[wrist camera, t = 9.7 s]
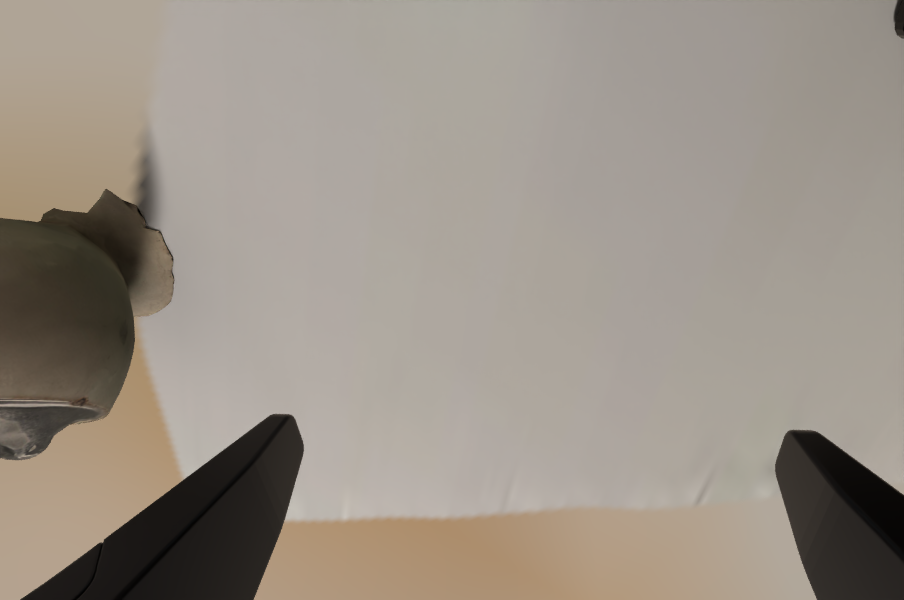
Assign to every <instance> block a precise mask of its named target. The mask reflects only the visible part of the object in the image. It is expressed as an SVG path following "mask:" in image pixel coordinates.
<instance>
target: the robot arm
mask: <svg viewBox="0 0 904 600" xmlns="http://www.w3.org/2000/svg"><path fill="white" fill-rule="evenodd" d="M895 31H896V33H897V35H898V36H899V37H901V38H903V39H904V0H902V3H901V6H900V9H899V13H898V16H897V19H896V23H895ZM303 452H304V445H303V440H302V438H301V435H300V432H299V429H298V426H297V423H296V420H295V418H294V417H293V416H292V415H290V414H272V415H270V416H269V417H267V418H266V419H264V420H263V421H262V422H260V423H259V424H258V425H256V426H255V427H254V428H252V429H251V430H250V431H248V432H247V433H246V434H244V435H243V436H242V437H240V438H239V439H238V440H236V441H235V442H234V443H232V444H231V445H230V446H228V447H227V448H226V449H224V450H223V451H222V452H220V453H219V454H218V455H216V456H215V457H214V458H212V459H211V460H210V461H208V462H207V463H206V464H204V465H203V466H202V467H200V468H199V469H198V470H196V471H195V472H194V473H192V474H191V475H190V476H188V477H187V478H186V479H184V480H183V481H182V482H180V483H179V484H178V485H176V486H175V487H174V488H172V489H171V490H170V491H168V492H167V493H166V494H164V495H163V496H162V497H160V498H159V499H158V500H156V501H155V502H154V503H152V504H151V505H150V506H148V507H147V508H146V509H144V510H143V511H142V512H140V513H139V514H137V515H136V516H135V517H133V518H132V519H131V520H130V521H128V522H127V523H126V524H124V525H123V526H122V527H120V528H119V529H118V530H116V531H115V532H113V533H112V534H111V535H109V536H108V537H107V538H106V539H104V542H103V543H99V544H97V545H96V546H95V547H93V548H92V549H91V550H89V551H88V552H87V553H85V554H84V555H83V556H81V557H80V558H78V559H77V560H76V561H74V562H73V563H72V564H70V565H69V566H67V567H66V568H65V569H63V570H62V571H61V572H59V573H58V574H56V575H55V576H54V577H52V578H51V579H50V580H48V581H47V582H45V583H44V584H42V585H41V586H40V587H38V588H37V589H35V590H34V591H32V592H31V593H29V594H28V595H26V596H25V597H23V598H22V599H21V600H254V597H255V595H256V592H257V590H258V587H259V584H260V582H261V579H262V577H263V575H264V572H265V569H266V567H267V565H268V562H269V560H270V557H271V554H272V552H273V550H274V547H275V544H276V542H277V540H278V537H279V534H280V532H281V529H282V526H283V523H284V520H285V517H286V513H287V510H288V506H289V503H290V499H291V496H292V492H293V489H294V485H295V482H296V478H297V475H298V471H299V468H300V464H301V460H302V457H303ZM775 472H776V477H777V481H778V484H779V487H780V491H781V494H782V498H783V501H784V504H785V507H786V511H787V514H788V518H789V521H790V524H791V528H792V531H793V535H794V538H795V541H796V545H797V548H798V551H799V554H800V558H801V561H802V564H803V566H804V569H805V571H806V574H807V577H808V579H809V581H810V584H811V586H812V589H813V591H814V593H815V596H816V598H817V600H904V495H903V494H902V493H900V492H899V491H897V490H896V489H895V488H894V487H892V486H891V485H889V484H888V483H887V482H885V481H884V480H883V479H881V478H880V477H879V476H877V475H876V474H874V473H873V472H872V471H870V470H869V469H868V468H866V467H865V466H864V465H862V464H861V463H859V462H858V461H857V460H855V459H854V458H853V457H851V456H850V455H849V454H847V453H846V452H844V451H843V450H842V449H840V448H839V447H838V446H836V445H835V444H834V443H832V442H831V441H829V440H828V439H827V438H825V437H824V436H823V435H821V434H820V433H818V432H816V431H812V430H790V431H788V432H787V433H786V434H785V436H784V439H783V442H782V445H781V448H780V451H779V454H778V457H777V460H776V464H775Z"/></svg>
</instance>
